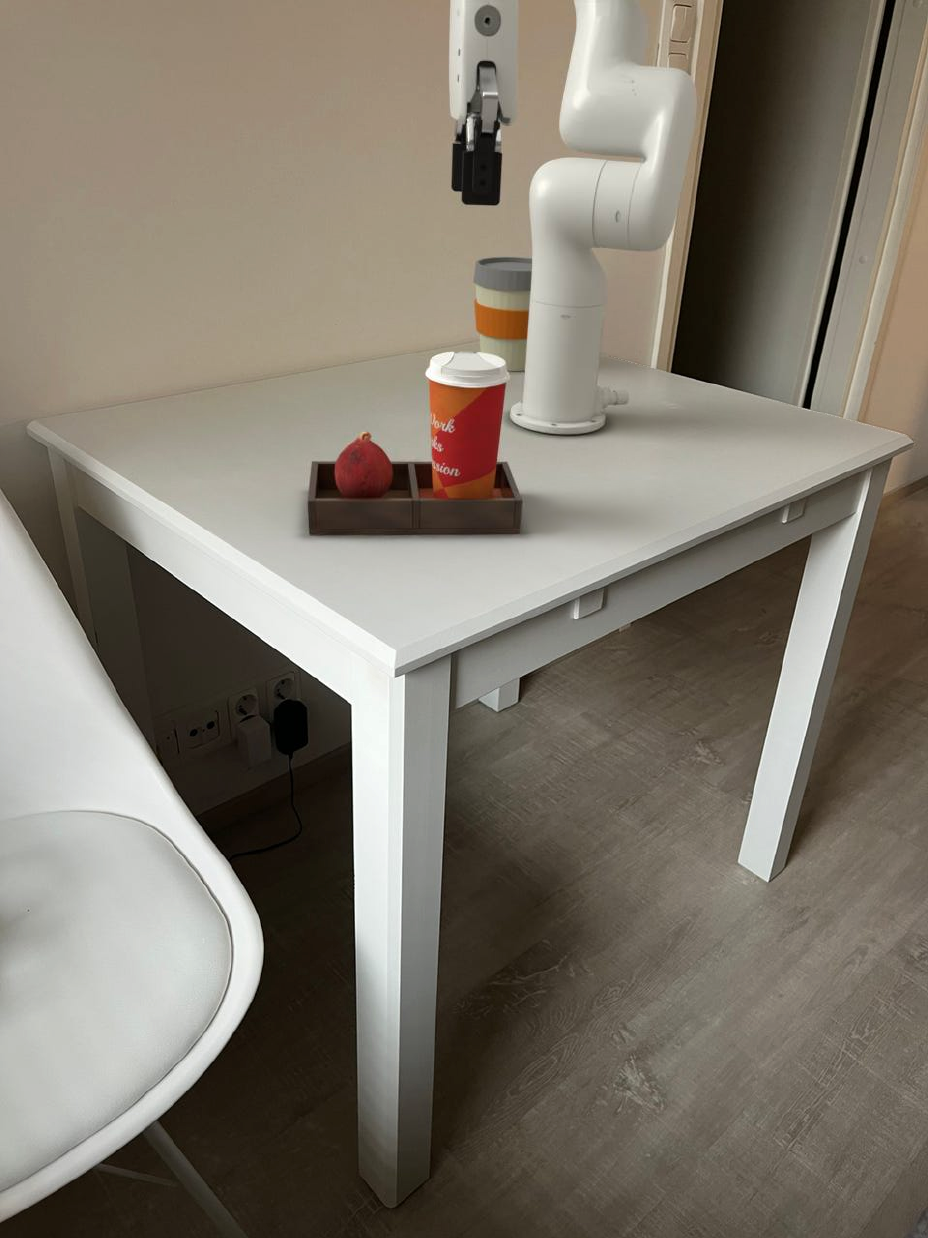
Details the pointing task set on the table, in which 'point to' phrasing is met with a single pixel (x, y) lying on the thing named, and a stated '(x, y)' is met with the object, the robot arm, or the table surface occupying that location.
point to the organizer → (411, 505)
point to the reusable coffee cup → (503, 307)
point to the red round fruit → (363, 469)
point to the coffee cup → (465, 422)
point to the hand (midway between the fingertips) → (474, 197)
